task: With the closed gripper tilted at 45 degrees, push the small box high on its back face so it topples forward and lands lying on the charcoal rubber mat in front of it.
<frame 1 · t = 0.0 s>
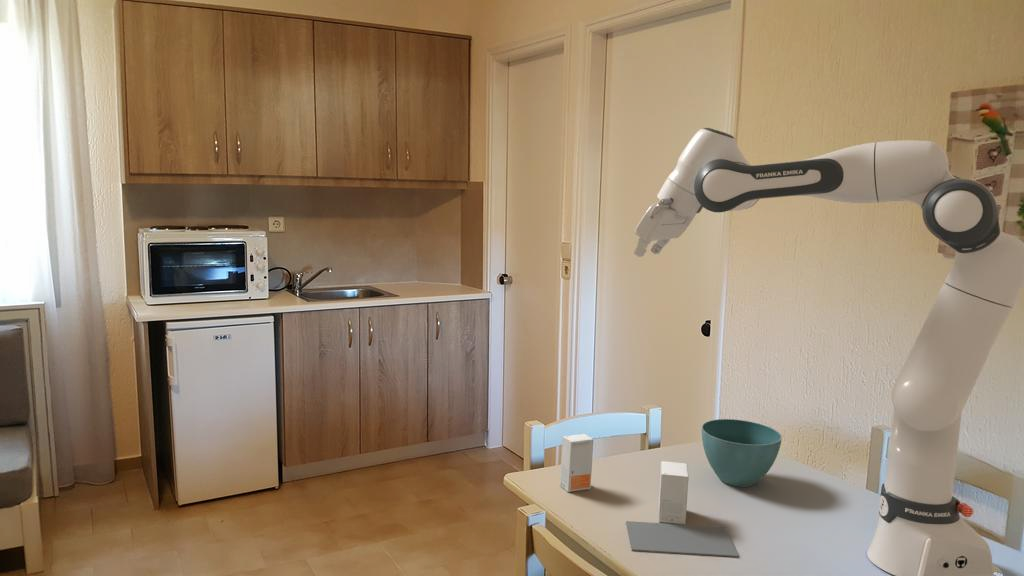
hand: (646, 253, 160), 54 cm above the table, tool tilted 30°, fingers open, 8 cm apart
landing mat: (679, 539, 145), on the table
skincare box: (575, 488, 168), on the table
small box: (671, 516, 155), on the table
teal bowl: (737, 481, 176), on the table
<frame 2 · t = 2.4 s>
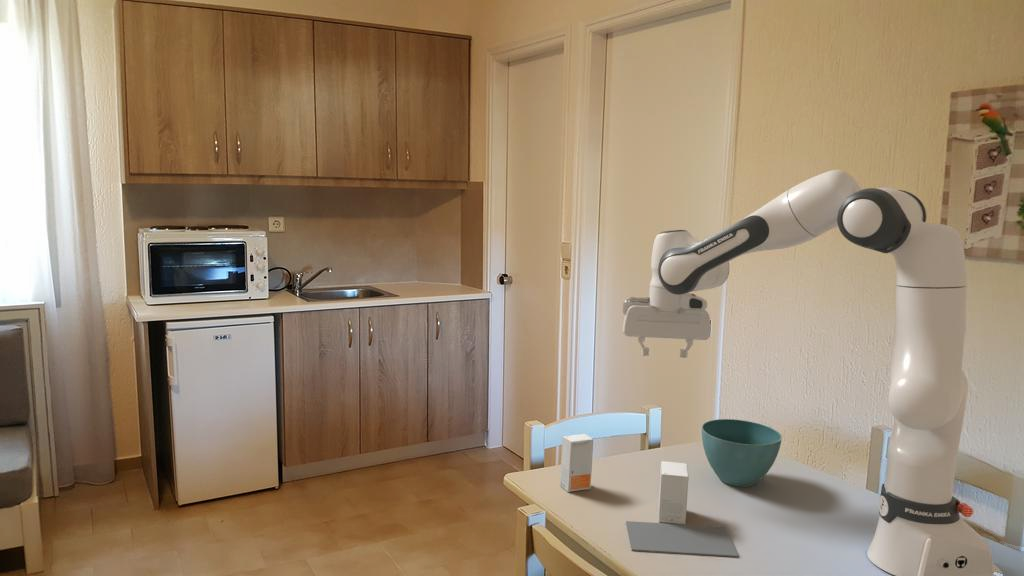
hand: (664, 356, 174), 29 cm above the table, tool pointing down, fingers open, 8 cm apart
nothing on the table moved.
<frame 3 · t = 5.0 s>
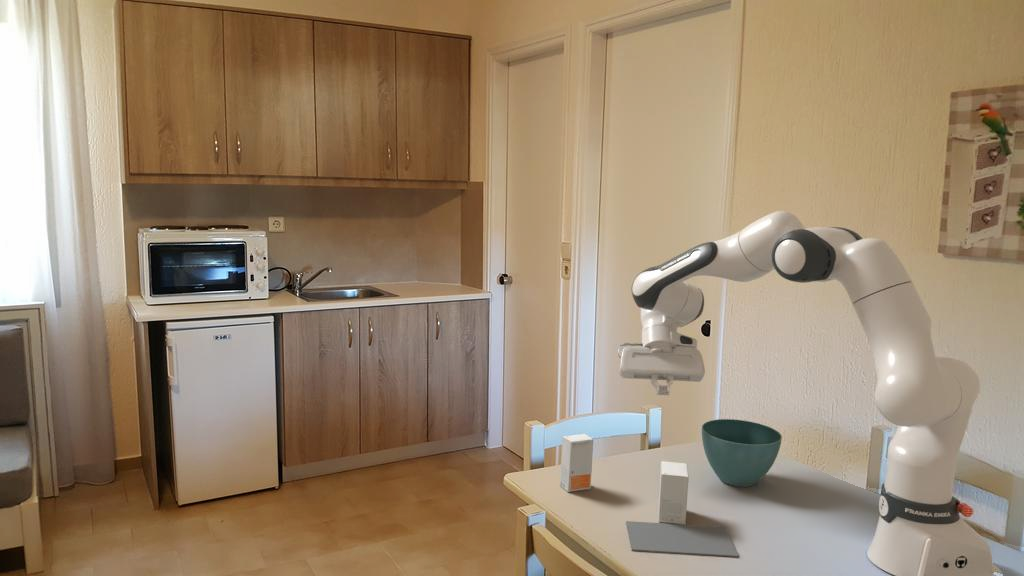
hand: (663, 394, 174), 20 cm above the table, tool tilted 45°, fingers closed
nothing on the table moved.
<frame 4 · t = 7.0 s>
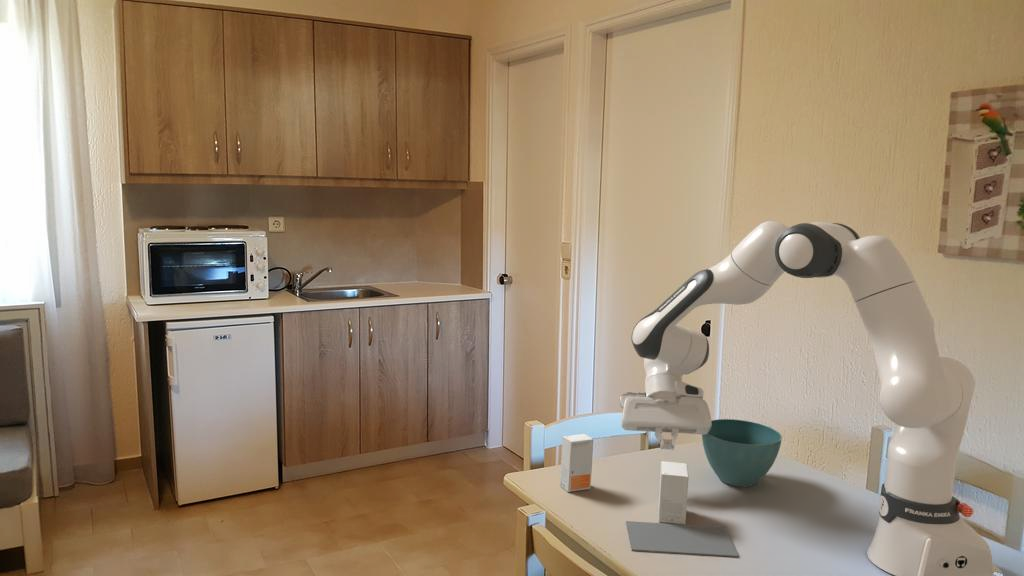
hand: (667, 448, 165), 11 cm above the table, tool tilted 45°, fingers closed
nothing on the table moved.
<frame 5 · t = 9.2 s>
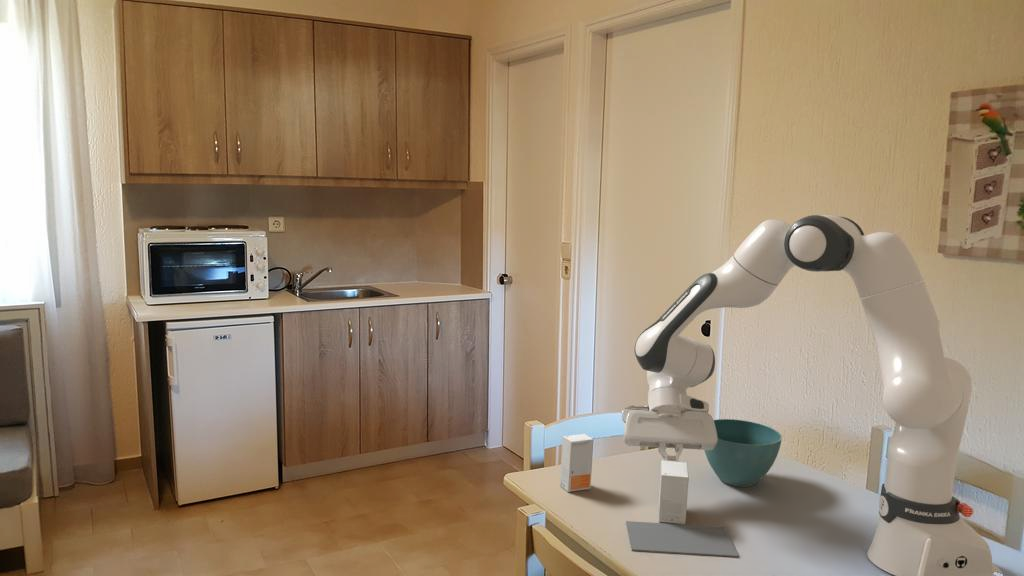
hand: (671, 465, 158), 10 cm above the table, tool tilted 45°, fingers closed
small box: (671, 515, 155), on the table, touching gripper
everything else where it was.
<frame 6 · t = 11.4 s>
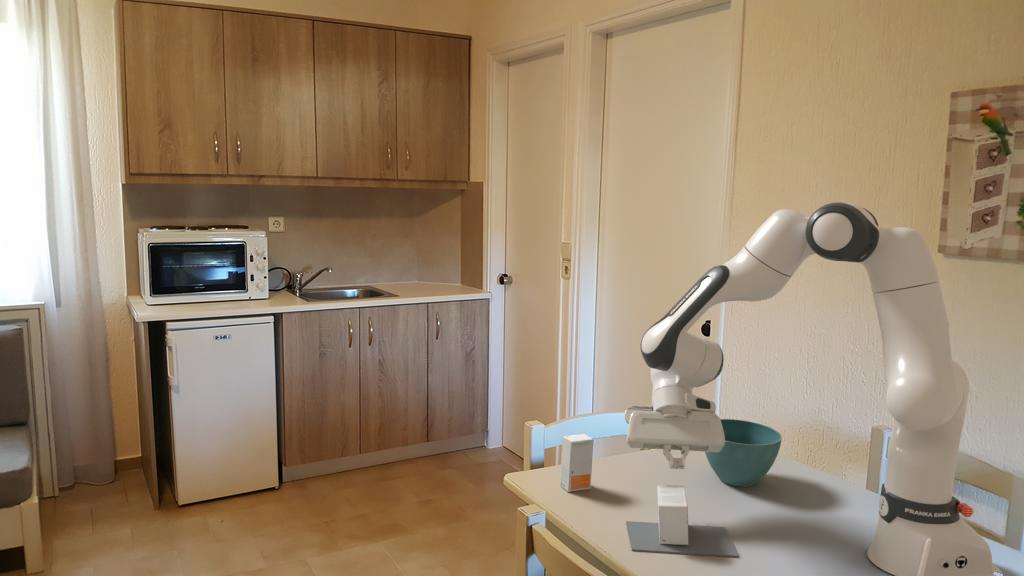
hand: (677, 467, 151), 12 cm above the table, tool tilted 45°, fingers closed
small box: (671, 502, 151), point 4 cm above the table, touching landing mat
everything else where it was.
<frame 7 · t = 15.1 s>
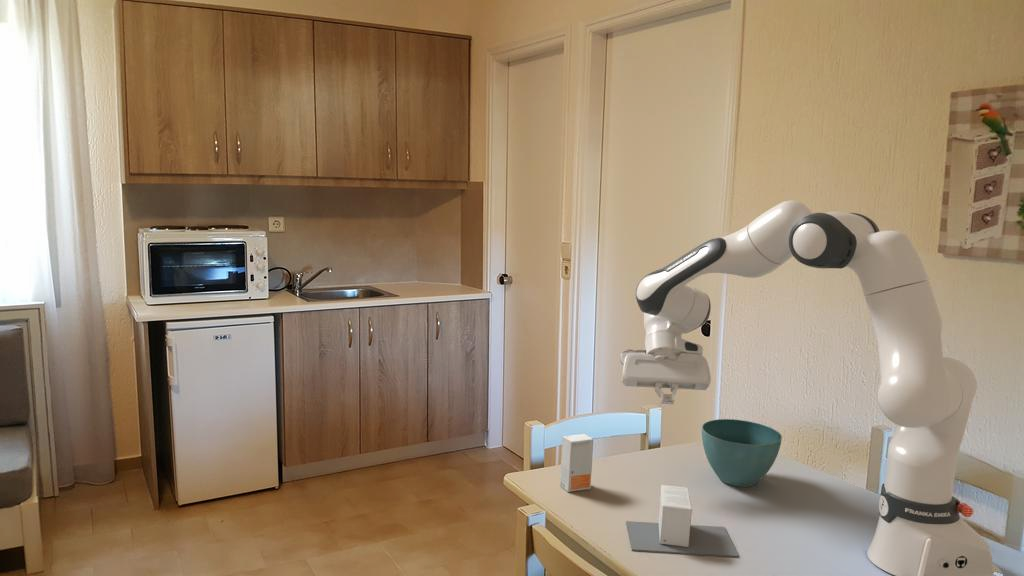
hand: (667, 402, 167), 20 cm above the table, tool tilted 45°, fingers closed
nothing on the table moved.
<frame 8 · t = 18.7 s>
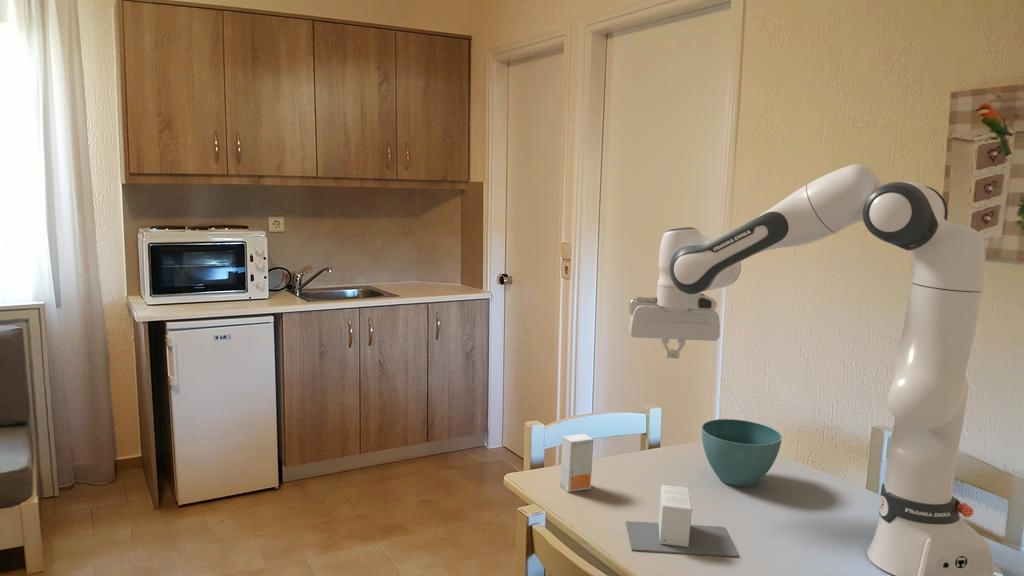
hand: (672, 357, 169), 30 cm above the table, tool pointing down, fingers closed
nothing on the table moved.
at the end: small box tilted 91°; small box touching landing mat; the gripper is holding nothing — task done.
